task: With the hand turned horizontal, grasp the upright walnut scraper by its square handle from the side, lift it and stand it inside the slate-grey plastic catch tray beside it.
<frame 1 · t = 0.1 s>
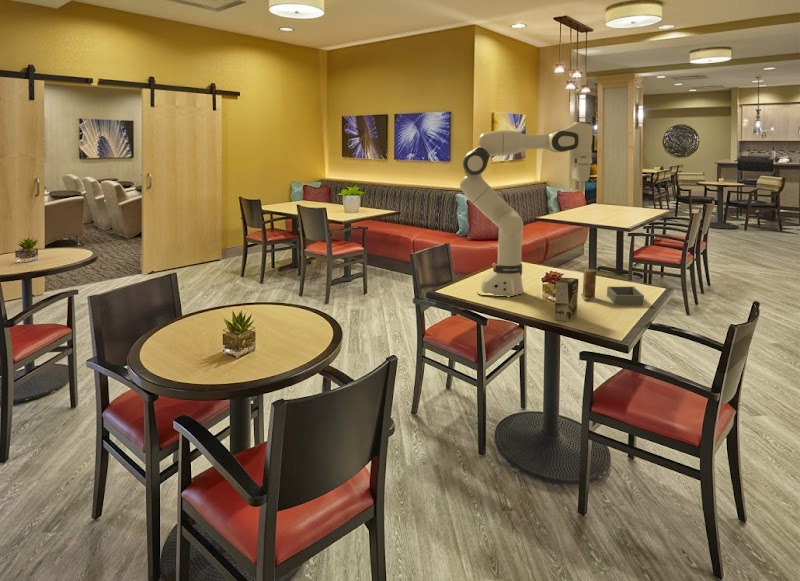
hand: (579, 190, 255), 48 cm above the table, tool pointing down, fingers open, 8 cm apart
coffee box: (565, 318, 230), on the table
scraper: (588, 298, 256), on the table
catch tray: (624, 300, 251), on the table
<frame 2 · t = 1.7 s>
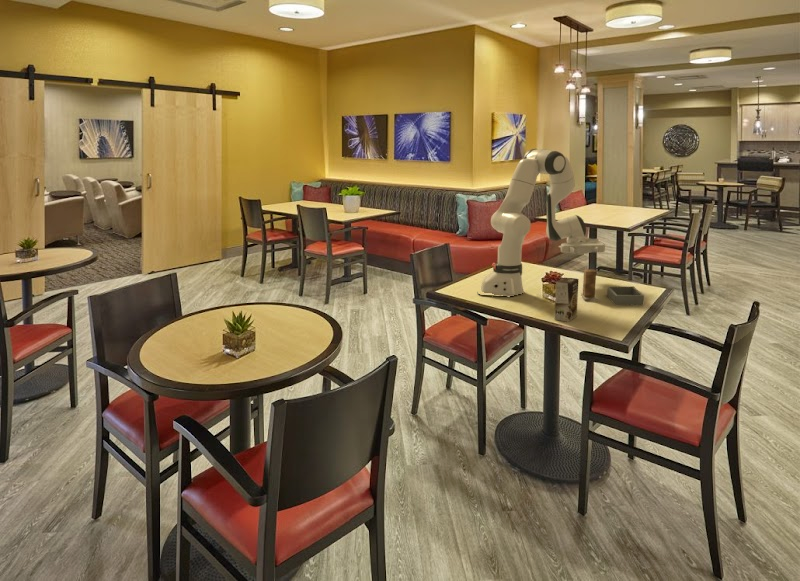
hand: (585, 250, 263), 20 cm above the table, tool horizontal, fingers open, 8 cm apart
nothing on the table moved.
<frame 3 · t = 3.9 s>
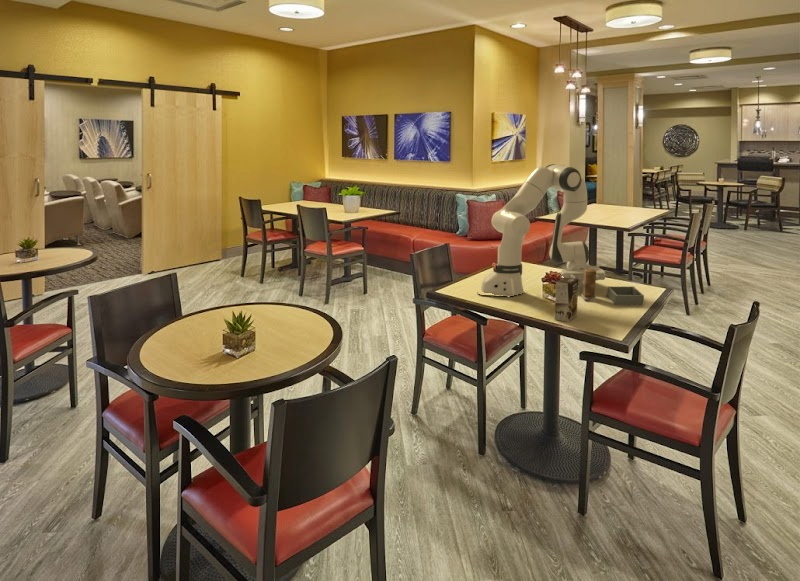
hand: (585, 278, 261), 7 cm above the table, tool horizontal, fingers open, 8 cm apart
nothing on the table moved.
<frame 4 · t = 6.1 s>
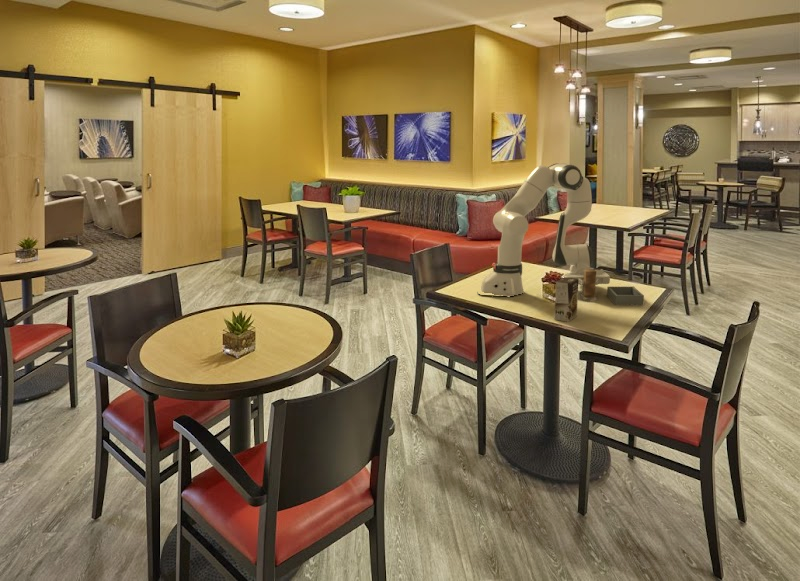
hand: (589, 283, 253), 8 cm above the table, tool horizontal, fingers closed on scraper, 4 cm apart
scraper: (588, 298, 256), on the table, touching gripper
everything else where it was.
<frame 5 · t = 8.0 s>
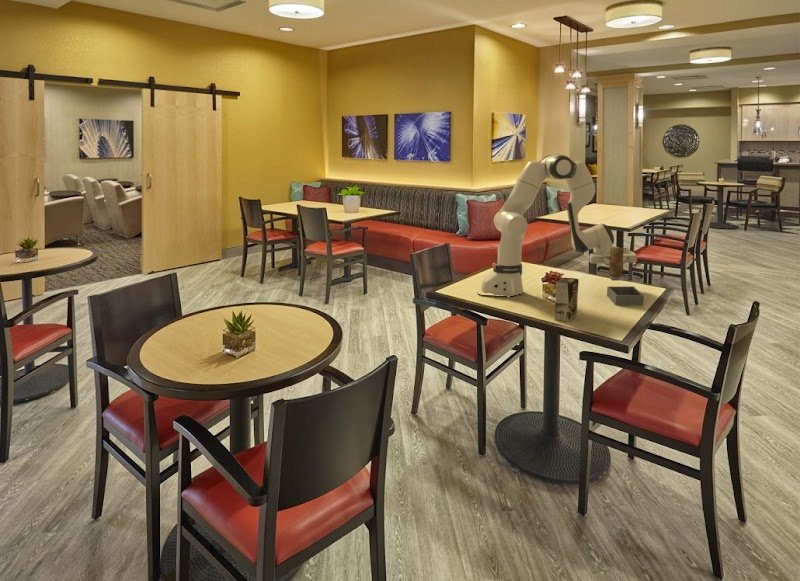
hand: (616, 261, 248), 18 cm above the table, tool horizontal, fingers closed on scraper, 4 cm apart
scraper: (615, 277, 251), point 10 cm above the table, touching gripper
everything else where it was.
when the fingers open (9 cm above the table, at t = 10.1 s): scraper drops 1 cm, resting on catch tray.
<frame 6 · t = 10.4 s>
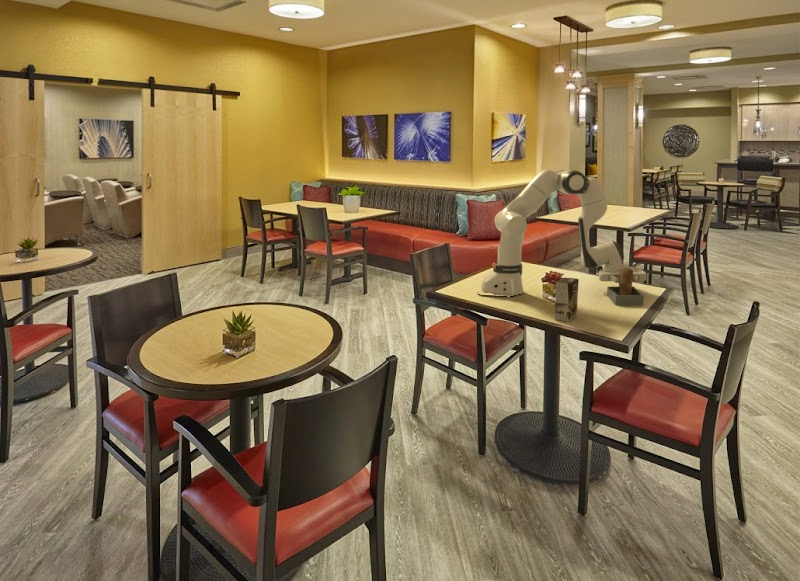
hand: (626, 280, 248), 9 cm above the table, tool horizontal, fingers open, 7 cm apart
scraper: (624, 298, 251), point 1 cm above the table, touching catch tray
everything else where it was.
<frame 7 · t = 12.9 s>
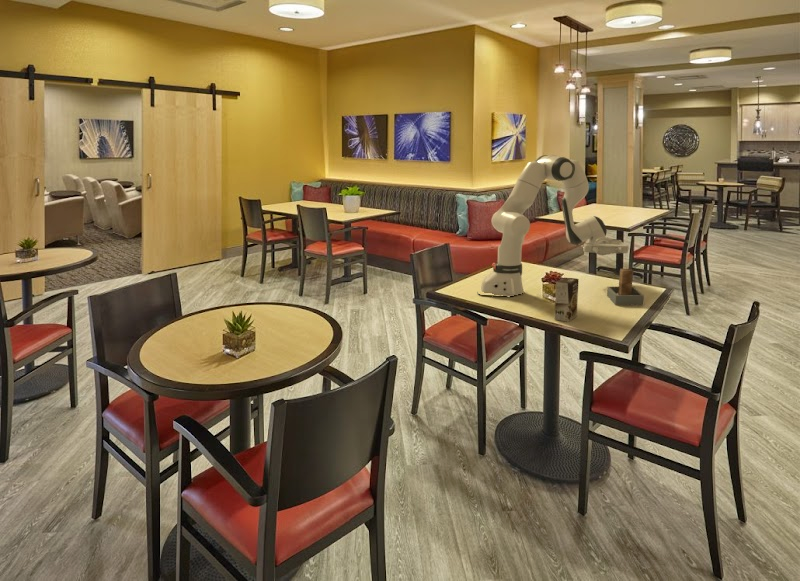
hand: (609, 250, 260), 20 cm above the table, tool horizontal, fingers open, 8 cm apart
nothing on the table moved.
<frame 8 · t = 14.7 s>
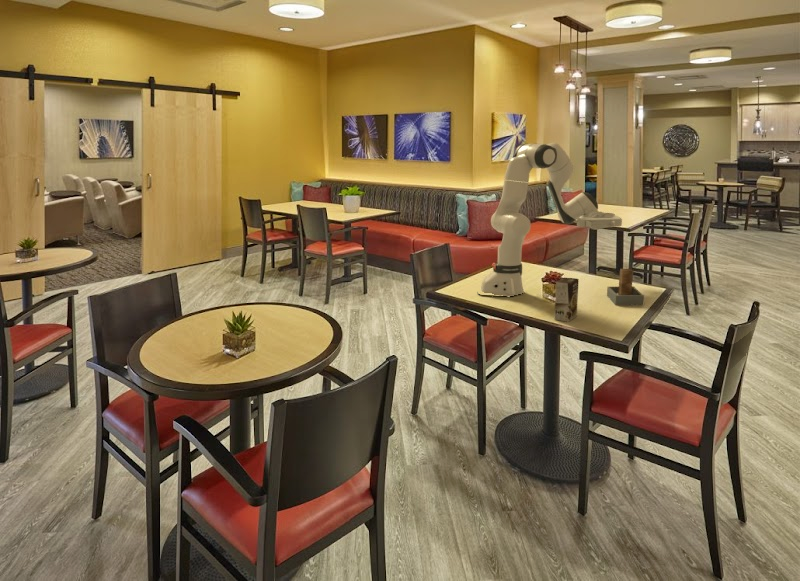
hand: (602, 224, 259), 32 cm above the table, tool horizontal, fingers open, 8 cm apart
nothing on the table moved.
at the end: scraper inside the target area on the catch tray (0.1 cm from its centre), point 0.8 cm above the catch tray's base; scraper tilted 0°; the gripper is holding nothing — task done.
